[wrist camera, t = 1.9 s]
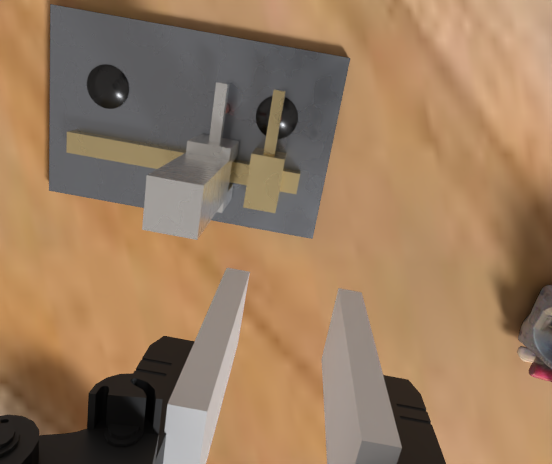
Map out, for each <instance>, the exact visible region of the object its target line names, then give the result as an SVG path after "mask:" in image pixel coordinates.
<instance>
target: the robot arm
mask: <svg viewBox="0 0 552 464" xmlns="http://www.w3.org/2000/svg"><path fill="white" fill-rule="evenodd" d="M249 273H250V272H248V271H242V270H237V269H231V268H226V271H225V273H224V275H223V277H222V280H221V282H220V284H219V287H218V289H217V291H216V294H215V296H214V298H213V300H212V303H211V305H210V307H209V310H208V312H207V314H206V317H205V319H204V321H203V323H202V326H201V328H200V330H199V333H198V335H197V337H196V340H195V342H194V341H189V340H184V339H178V338H173V337H167V336H163V337H162V338H160V339H159V340H157V341H156V342H154V343H153V344H151V345H150V346H149V348H148V350H147V351H146V353H145V355H144V356H143V358H142V360H141V361H140V363H139V365H138V366H137V368H136V371H134V373H133V374H119V375H115V376H111V377H108V378H106V379H104V380H102V381H101V382H99V383H97V384H96V385H95V386H94V387H93V389H92V390H91V391H90V392H89V399H88V422H87V429H84V430H81V431H78V432H73V433H67V434H54V435H40V436H39V429H38V427H37V426H36V424H35V423H34V422H33V421H32V420H29V419H27V418H25V417H23V416H16V415H4V416H0V464H206V461H207V458H208V454H209V450H210V446H211V443H212V439H213V435H214V431H215V428H216V424H217V420H218V416H219V413H220V409H221V405H222V401H223V398H224V394H225V390H226V386H227V382H228V379H229V375H230V371H231V367H232V364H233V360H234V356H235V352H236V349H237V345H238V340H239V334H240V328H241V321H242V315H243V309H244V303H245V297H246V291H247V285H248V279H249ZM322 374H323V393H324V412H325V431H326V449H327V464H446V462H445V460H444V457H443V454H442V451H441V449H440V446H439V443H438V440H437V438H436V435H435V432H434V429H433V427H432V425H431V424H430V422H431V421H430V418H429V416H428V413H427V412H426V407H425V405H424V402H423V399H422V396H421V394H420V393H419V392H418V390H417V389H416V388H415V387H414V386H413V385H412V384H411V382H410V381H409V380H407V379H401V378H396V377H390V376H385V375H383V373H382V369H381V365H380V361H379V357H378V354H377V350H376V346H375V342H374V338H373V334H372V331H371V327H370V323H369V319H368V315H367V311H366V307H365V304H364V300H363V296H362V292H356V291H351V290H346V289H340V288H339V289H338V293H337V297H336V301H335V305H334V310H333V314H332V318H331V322H330V326H329V331H328V335H327V339H326V343H325V347H324V352H323V356H322Z"/></svg>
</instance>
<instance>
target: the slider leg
mask: <svg viewBox="0 0 552 464" xmlns="http://www.w3.org/2000/svg"><path fill="white" fill-rule="evenodd" d="M228 91H229V84H225V83H219V82H216V87H215V95H214V104H213V112H212V120H211V129H210V135H204V134H200V135H198V136H196V137H194V138H192V139H190V140H188V141H187V149H186V153H184V154H183V155H181V156H179V157H177V158H176V159H174V160H172V161H170V162H169V163H167V164H165V165H163V166H162V167H160V168H158V169H157V170H155V171H153V172H151V173H150V174H148V175H147V176H146V189H145V202H144V215H143V227H142V230H147V231H152V232H158V233H163V234H169V235H174V236H180V237H185V238H191V239H196V240H197V239H198V238H199V237H200V235H201V234H202V232H203V231H204V229H205V228H206V227H207V225H208V224H209V222H210V221H211V219H212V218H213V217H214V215H215V214H216V212H219V213H222V212H223V211H224V209H225V208H226V206H227V205H228V203H229V202H230V200H231V199H232V192H233V185H234V184H232V183H229V180H230V173H231V166H232V162H233V161H234V160H235V159H236V158H237V157H238V150H239V143H240V141H237V140H232V139H226V138H222V137H223V130H224V122H225V114H226V113H228V112H229V105H228V104H227V99H228Z"/></svg>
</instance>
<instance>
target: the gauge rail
mask: <svg viewBox="0 0 552 464" xmlns="http://www.w3.org/2000/svg"><path fill="white" fill-rule="evenodd" d="M285 93H286V91H280V90H274V91H273V97H272V103H271V110H270V116H269V122H268V128H267V134H266V141H265V147H264V149H262V148H255V150H254V151H253V152H252V153H251V159H250V162H247V161H242V160H236V159H235V160H234V161H233V162H232V166H231V173H230V180H229V182H231V183H236V184H242V185H246V192H245V199H244V205H243V208H249V209H254V210H260V211H265V212H271V213H275V212H276V208H277V204H278V199H279V194H280V192H286V193H291V194H296V193H297V188H298V183H299V178H300V171H297V170H291V169H286V168H284V166H285V160H286V154H287V153H284V152H278V151H276V146H277V140H278V134H279V128H280V122H281V120H282V110H283V104H284V99H285ZM66 153H72V154H77V155H83V156H88V157H94V158H99V159H105V160H110V161H116V162H121V163H127V164H132V165H138V166H143V167H149V168H154V169H158V168H160V167H162V166H163V165H165V164H167V163H169V162H170V161H172V160H174V159H176V158H177V157H179V156H181V155H183V154H184V153H186V150H181V149H176V148H170V147H165V146H159V145H154V144H148V143H143V142H137V141H132V140H126V139H121V138H115V137H110V136H104V135H99V134H93V133H88V132H82V131H77V130H73V131H68V132H67V150H66Z"/></svg>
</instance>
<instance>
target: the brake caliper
mask: <svg viewBox="0 0 552 464" xmlns="http://www.w3.org/2000/svg"><path fill="white" fill-rule="evenodd" d="M518 340H519V341H520V342H521V343H523V344H524V345H525V346H526V347H522V346H520V347H519V349H518V351H517V353H518V355H519V357H520V359H522V360H523V361H526V362H532V365H531V367H530V369H529V374H530V375H531V376H533V377H536V378H539V379H543V380H547V381H551V382H552V285H547V286H544V287H543V288H542V290H541V292H540V294H539V296H538V298H537V300H536V302H535V304H534V306H533V309H532V311H531V313H530V315H529V316H528V317H527V318H526V319H525V320H524V322H523V324H522V326H521V328H520V332H519V337H518Z"/></svg>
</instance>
